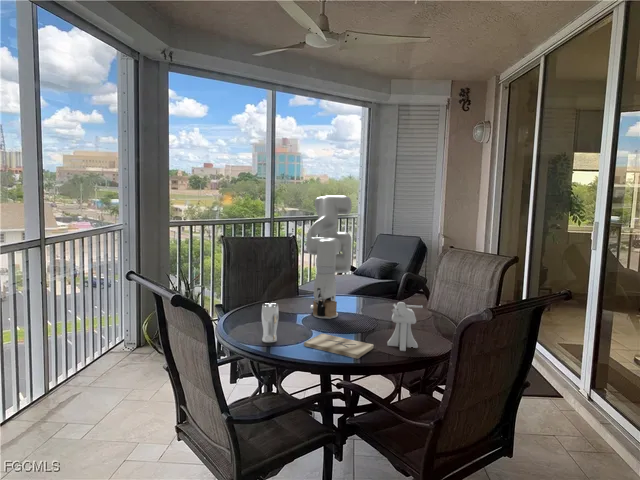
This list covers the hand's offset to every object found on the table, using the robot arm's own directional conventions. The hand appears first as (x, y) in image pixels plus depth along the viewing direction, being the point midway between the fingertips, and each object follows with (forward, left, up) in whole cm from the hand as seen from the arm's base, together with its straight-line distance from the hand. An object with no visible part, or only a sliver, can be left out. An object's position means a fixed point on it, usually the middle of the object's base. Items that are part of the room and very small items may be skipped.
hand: (324, 313), depth 178 cm
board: (+7, 0, -12) cm, 14 cm away
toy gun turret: (+28, +17, -13) cm, 35 cm away
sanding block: (0, 0, -1) cm, 1 cm away
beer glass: (-20, -10, -13) cm, 26 cm away
